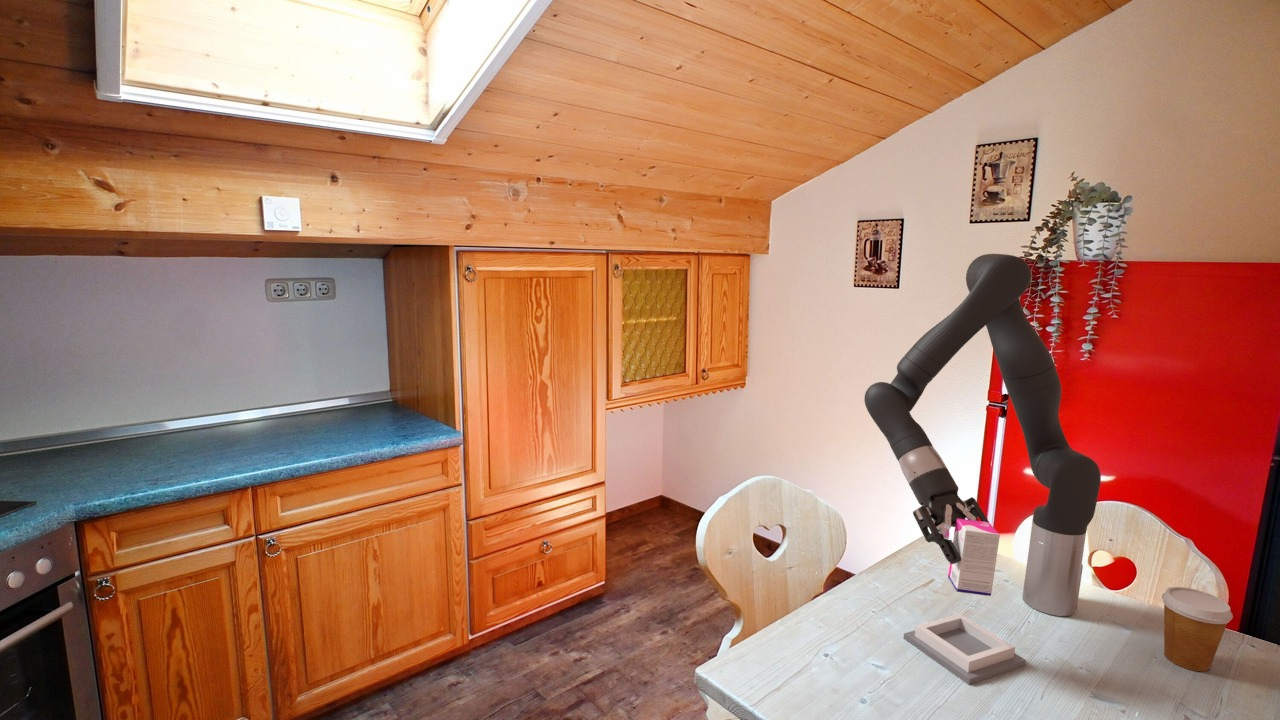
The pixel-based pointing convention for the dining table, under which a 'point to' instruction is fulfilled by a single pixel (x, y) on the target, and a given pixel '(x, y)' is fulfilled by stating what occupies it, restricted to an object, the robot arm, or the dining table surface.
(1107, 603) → the dining table surface
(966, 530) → the supplement box
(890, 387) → the robot arm
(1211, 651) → the disposable coffee cup
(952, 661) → the socket
